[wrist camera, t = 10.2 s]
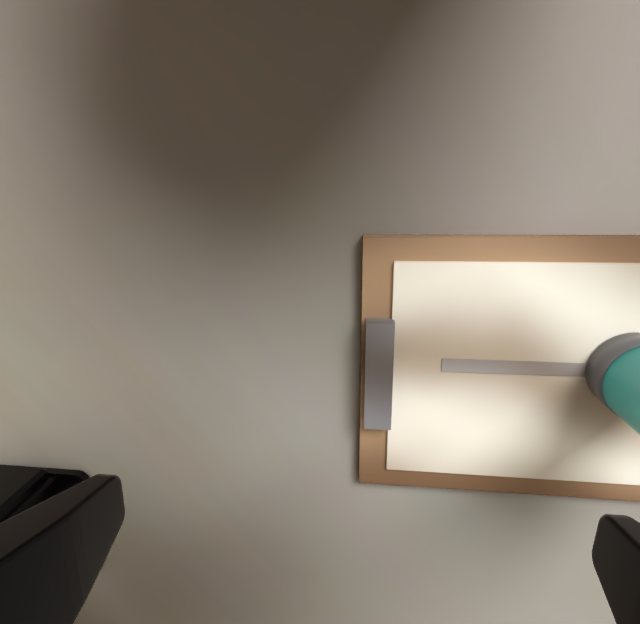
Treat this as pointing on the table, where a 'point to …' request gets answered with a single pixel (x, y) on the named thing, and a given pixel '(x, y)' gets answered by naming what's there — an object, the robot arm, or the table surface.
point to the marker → (617, 376)
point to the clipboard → (495, 363)
